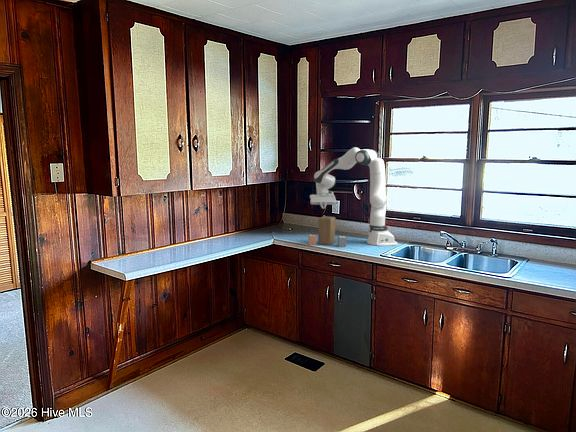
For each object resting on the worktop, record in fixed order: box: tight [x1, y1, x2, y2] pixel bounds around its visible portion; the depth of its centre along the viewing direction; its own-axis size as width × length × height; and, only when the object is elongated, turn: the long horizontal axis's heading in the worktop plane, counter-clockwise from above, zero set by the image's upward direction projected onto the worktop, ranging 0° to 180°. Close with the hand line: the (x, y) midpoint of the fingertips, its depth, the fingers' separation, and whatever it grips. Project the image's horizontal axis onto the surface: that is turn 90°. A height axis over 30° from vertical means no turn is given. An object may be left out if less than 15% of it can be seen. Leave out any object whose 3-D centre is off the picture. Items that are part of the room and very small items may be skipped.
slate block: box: [337, 235, 347, 248], centre depth 308 cm, size 5×5×8 cm
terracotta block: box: [308, 233, 317, 246], centre depth 312 cm, size 5×5×8 cm
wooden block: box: [317, 215, 336, 246], centre depth 315 cm, size 10×10×20 cm
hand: (323, 208), depth 332 cm, fingers closed
